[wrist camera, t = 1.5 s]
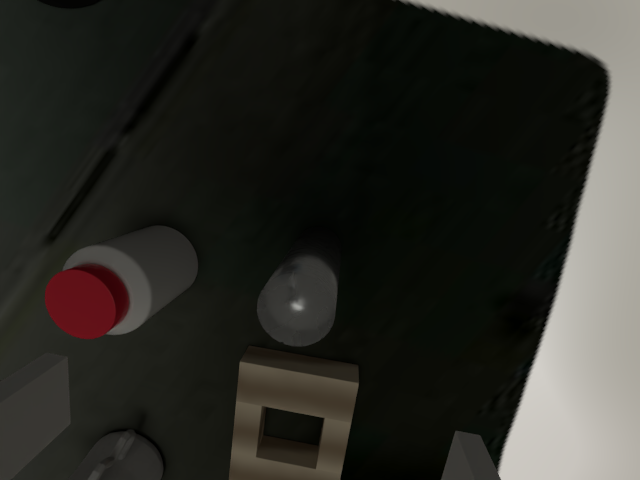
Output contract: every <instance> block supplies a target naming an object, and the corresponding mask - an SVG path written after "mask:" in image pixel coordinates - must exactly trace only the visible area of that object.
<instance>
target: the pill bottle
mask: <svg viewBox="0 0 640 480" xmlns="http://www.w3.org/2000/svg"><path fill="white" fill-rule="evenodd" d="M197 272H198V259H197V255H196V252H195V250H194V247H193V246H192V244H191V243H190V241H189V240H188V239H187V238H186V237H185V236H184V235H183V234H181V233H180V232H179V231H177V230H175V229H173V228H171V227H167V226H161V225H155V226H149V227H146V228H142V229H139V230H136V231H133V232H130V233H127V234H124V235H121V236H117V237H114V238H111V239H108V240H105V241H102V242H99V243H96V244H93V245H90V246H87V247H84V248H82V249H79V250H78V251H77V252H75V253H74V254H72V255H71V256H70V258H69V259H68V260H67V261H66V263H65V265H64V267H63V270H62V271H61V272H59V273H58V274H56V275H55V276H53V278H52V279H51V280H50V281H49V283H48V285H47V287H46V291H45V302H46V307H47V310H48V312H49V314H50V316H51V318H52V319H53V321H54V322H55V323H56V324H57V325H58V326H59V327H60V328H61V329H62V330H64V331H65V332H67V333H68V334H70V335H72V336H74V337H78V338H82V339H93V338H97V337H100V336H102V335H104V334H109V335H119V334H125V333H128V332H131V331H133V330H135V329H136V328H138V327H140V326H141V325H142V324H144V323H145V322H146V321H147V320H149V319H150V318H151V317H153V316H154V315H155V314H156V313H158V312H159V311H160V310H162V309H163V308H164V307H165V306H167V305H168V304H169V303H171V302H172V301H173V300H174V299H176V298H177V297H178V296H180V295H181V294H182V293H183V292H185V291H186V290H187V289H188V288H189V287H190V286H191V285H192V284H193V282H194V281H195V278H196V276H197Z"/></svg>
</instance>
